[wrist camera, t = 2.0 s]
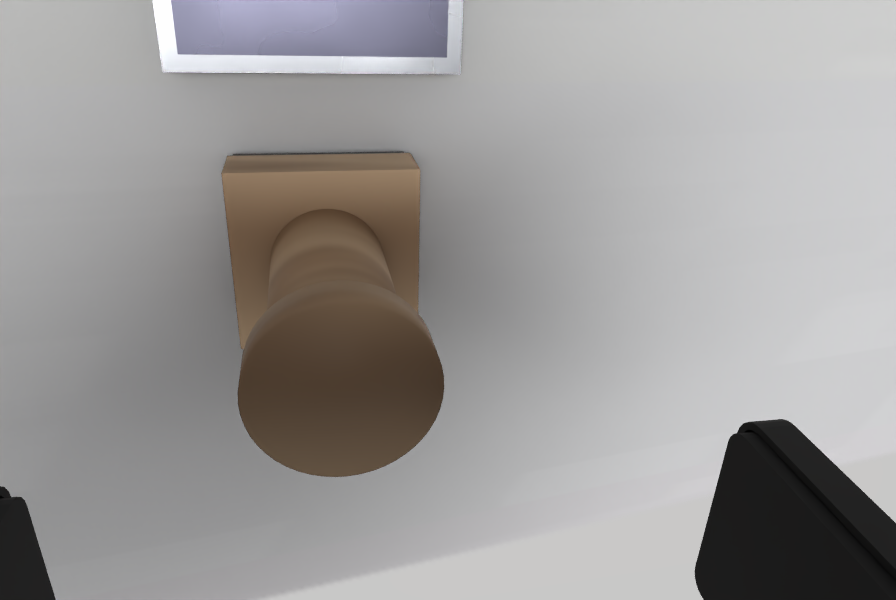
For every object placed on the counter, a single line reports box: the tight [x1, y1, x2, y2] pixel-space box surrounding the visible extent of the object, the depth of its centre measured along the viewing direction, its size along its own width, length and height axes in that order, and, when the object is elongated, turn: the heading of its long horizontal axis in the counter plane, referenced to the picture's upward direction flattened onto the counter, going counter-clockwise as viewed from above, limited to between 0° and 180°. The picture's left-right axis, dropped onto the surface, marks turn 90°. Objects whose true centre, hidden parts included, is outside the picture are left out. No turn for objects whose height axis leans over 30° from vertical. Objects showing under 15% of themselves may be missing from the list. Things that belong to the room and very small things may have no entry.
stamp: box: [221, 152, 444, 477], centre depth 17 cm, size 5×5×9 cm
